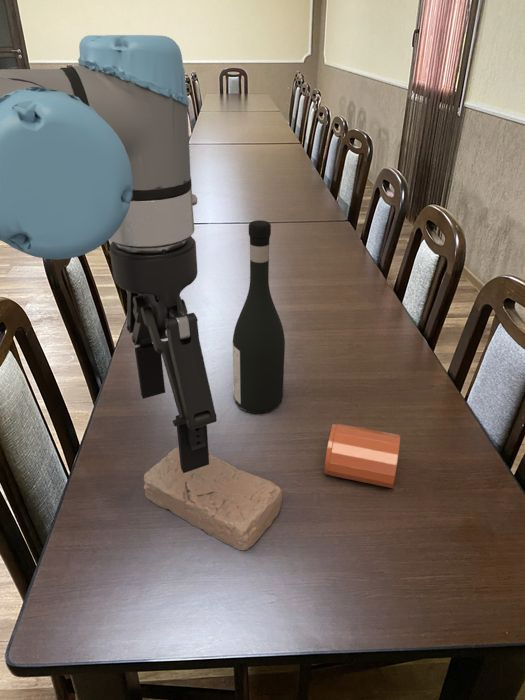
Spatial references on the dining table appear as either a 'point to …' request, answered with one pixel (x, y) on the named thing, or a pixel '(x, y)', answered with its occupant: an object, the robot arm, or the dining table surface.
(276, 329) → the wine bottle
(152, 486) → the brick
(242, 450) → the dining table surface
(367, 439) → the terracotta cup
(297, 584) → the dining table surface
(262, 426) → the dining table surface
